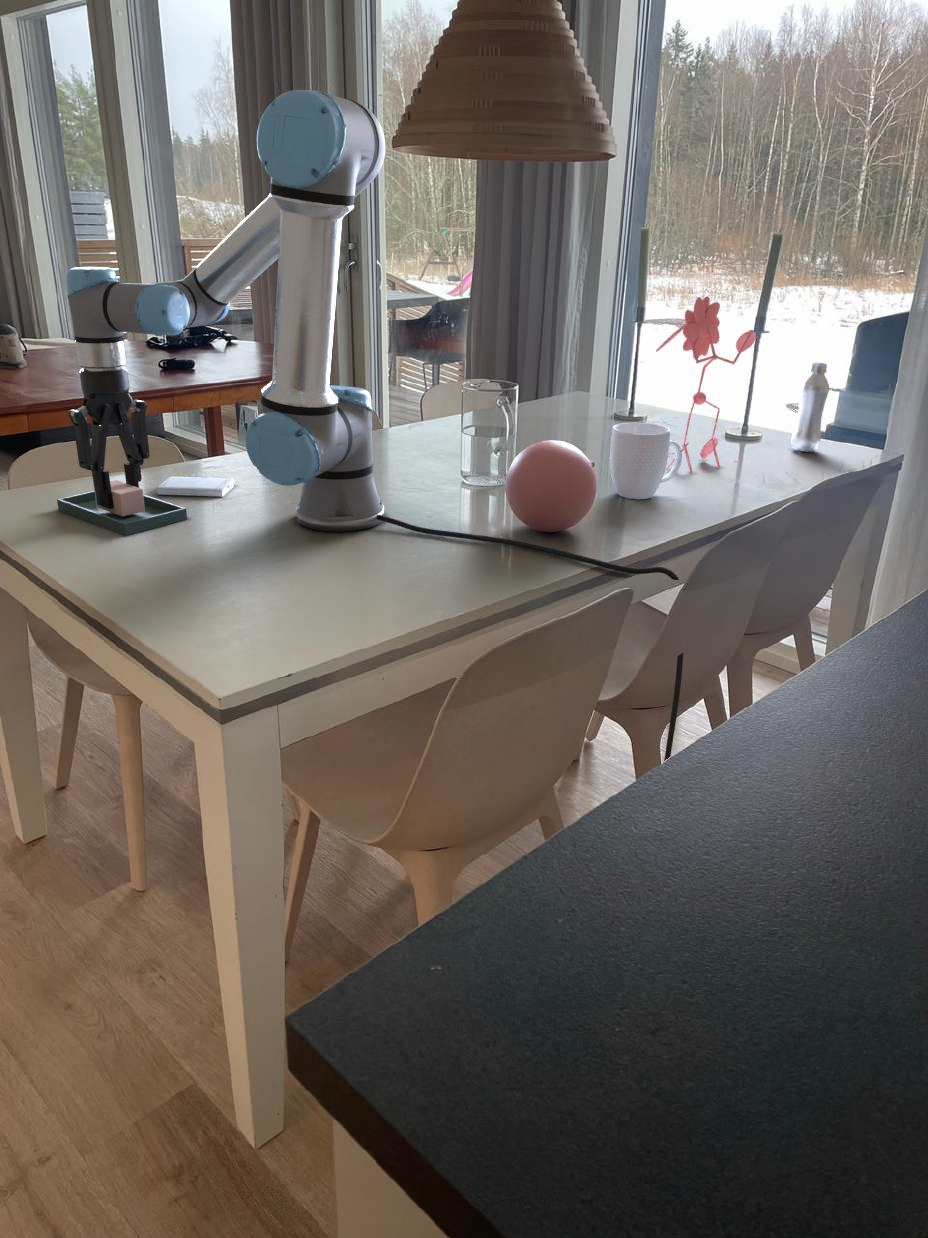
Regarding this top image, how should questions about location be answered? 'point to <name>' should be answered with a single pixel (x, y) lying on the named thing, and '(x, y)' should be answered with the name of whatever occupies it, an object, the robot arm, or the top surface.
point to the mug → (641, 458)
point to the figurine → (699, 338)
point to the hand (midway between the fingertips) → (121, 503)
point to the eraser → (123, 499)
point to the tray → (151, 518)
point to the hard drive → (195, 486)
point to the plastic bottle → (811, 409)
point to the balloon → (551, 486)
